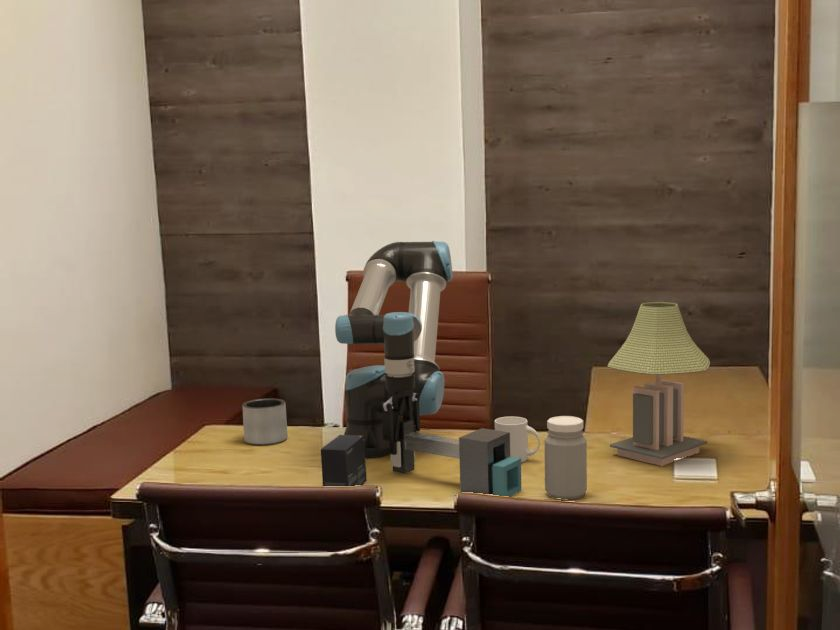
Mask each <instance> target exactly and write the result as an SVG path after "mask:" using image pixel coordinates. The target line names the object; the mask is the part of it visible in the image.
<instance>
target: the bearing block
mask: <svg viewBox="0 0 840 630" xmlns="http://www.w3.org/2000/svg"><path fill="white" fill-rule="evenodd" d="M458 440H459V458H460V459H459V490H460V491H459V492H473V493H483V494H493V470H492V465H494V464H496V463H498V462H500V461H502V460H504V459H506V458H508V457H510V432H504V431H497V430H495V429H490V428H483V427H481V428H479V429H477V430H473V431H471V432H469V433H467V434H464V435H461V436H460V437H458ZM507 485H508V476H507Z"/></svg>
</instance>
